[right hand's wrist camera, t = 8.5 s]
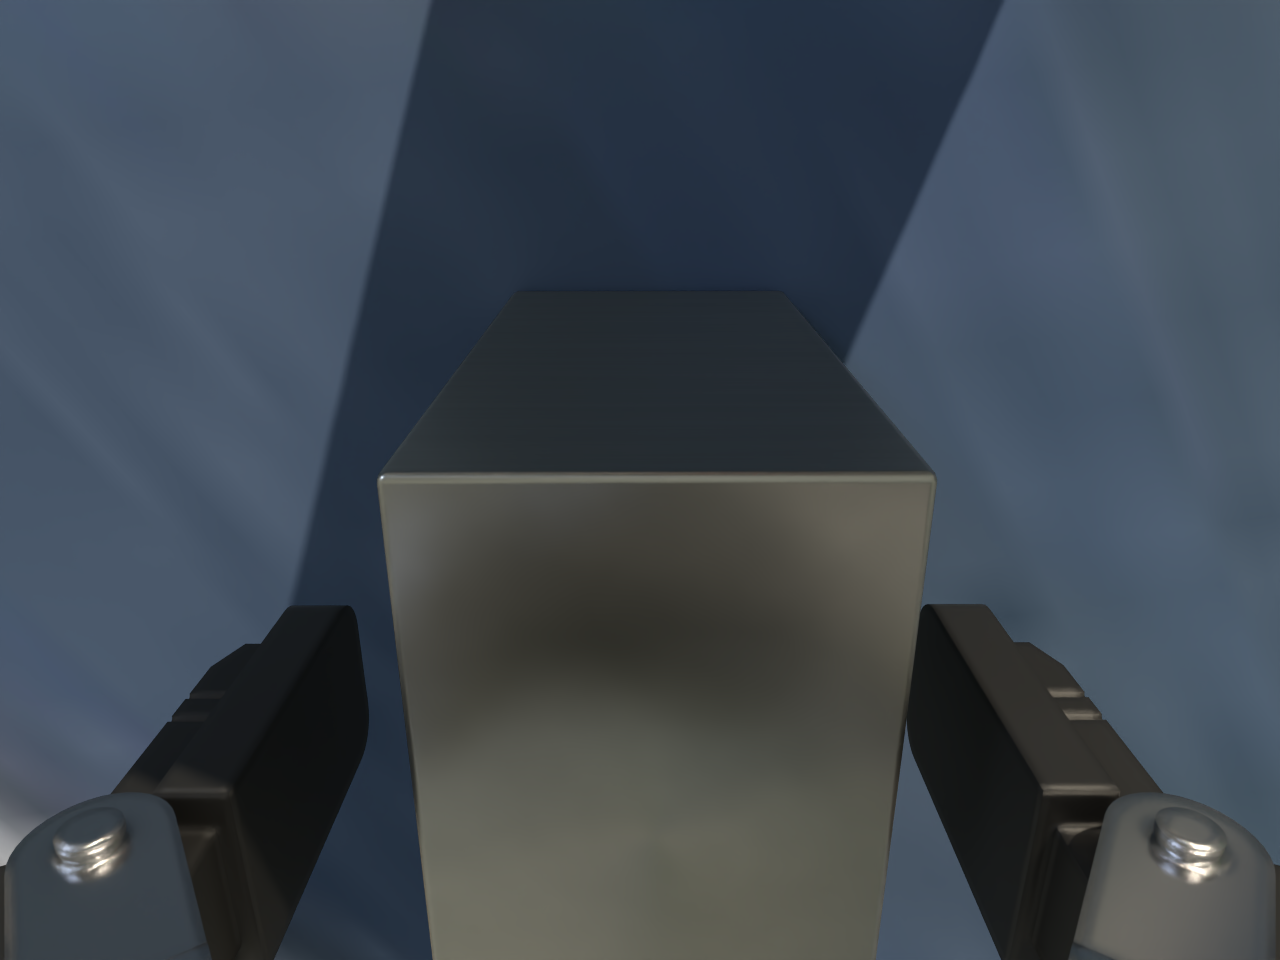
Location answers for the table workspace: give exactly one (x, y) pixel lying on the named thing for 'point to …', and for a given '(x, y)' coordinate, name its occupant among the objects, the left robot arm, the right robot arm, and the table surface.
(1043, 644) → the table surface
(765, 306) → the brick
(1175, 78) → the table surface
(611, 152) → the table surface
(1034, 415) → the table surface
